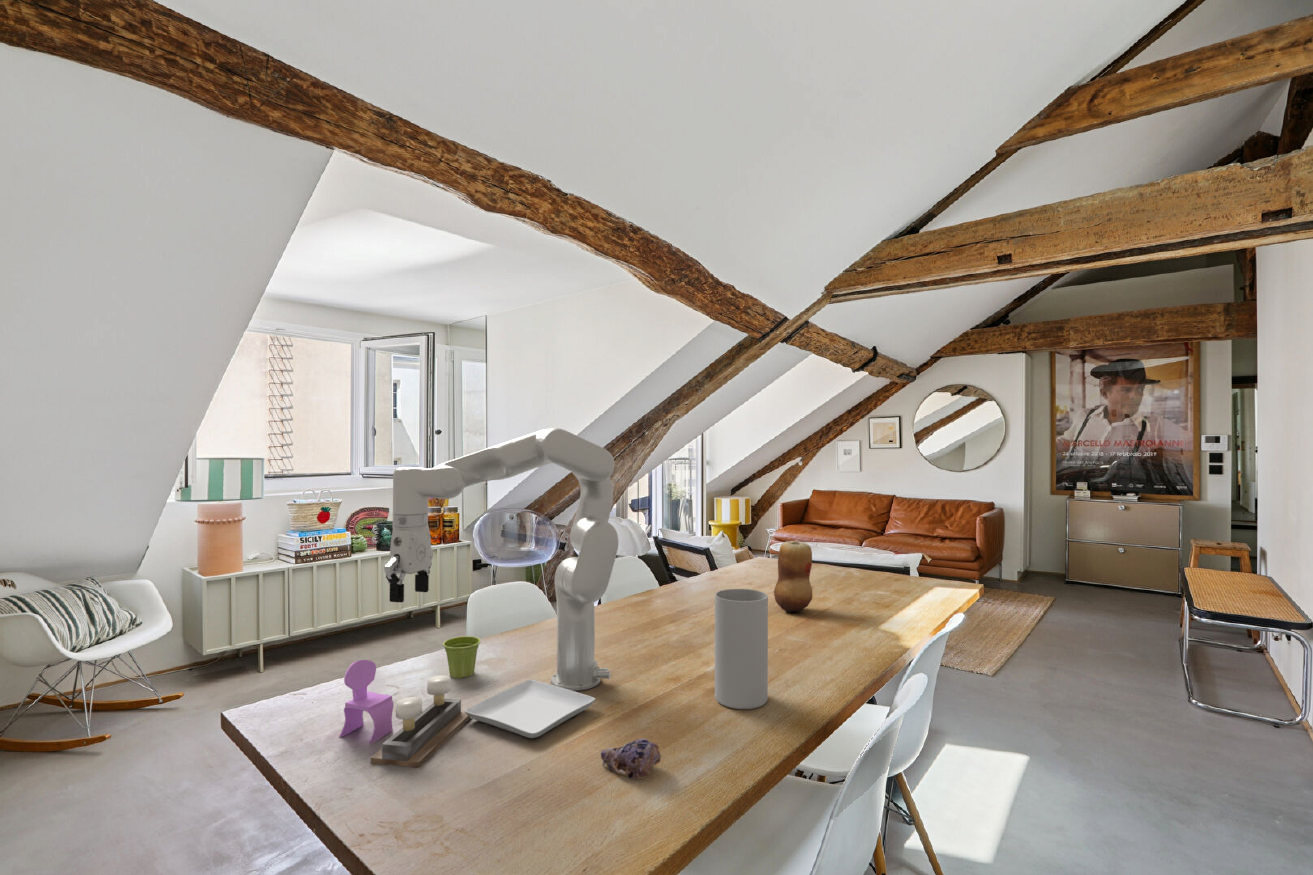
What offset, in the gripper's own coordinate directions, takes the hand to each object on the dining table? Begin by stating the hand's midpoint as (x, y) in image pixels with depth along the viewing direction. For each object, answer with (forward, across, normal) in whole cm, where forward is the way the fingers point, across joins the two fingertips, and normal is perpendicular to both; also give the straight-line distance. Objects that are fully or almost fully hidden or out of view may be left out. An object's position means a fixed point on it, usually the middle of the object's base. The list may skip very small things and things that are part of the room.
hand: (409, 596), depth 146 cm
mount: (+26, -11, -11) cm, 30 cm away
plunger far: (+21, -5, -10) cm, 24 cm away
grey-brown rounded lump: (+26, -14, -56) cm, 63 cm away
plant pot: (+26, +24, 0) cm, 35 cm away
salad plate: (+27, +4, -28) cm, 39 cm away
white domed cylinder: (+21, -17, -11) cm, 29 cm away
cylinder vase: (+26, +23, -73) cm, 81 cm away
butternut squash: (+25, +106, -86) cm, 138 cm away
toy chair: (+26, -11, +2) cm, 29 cm away
